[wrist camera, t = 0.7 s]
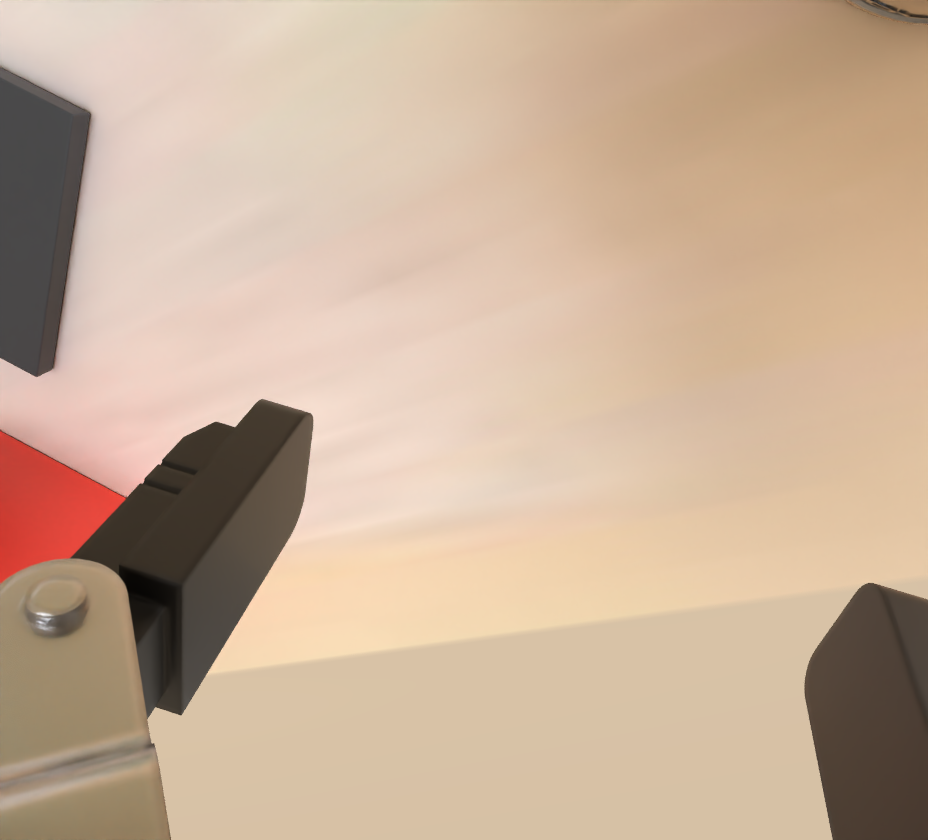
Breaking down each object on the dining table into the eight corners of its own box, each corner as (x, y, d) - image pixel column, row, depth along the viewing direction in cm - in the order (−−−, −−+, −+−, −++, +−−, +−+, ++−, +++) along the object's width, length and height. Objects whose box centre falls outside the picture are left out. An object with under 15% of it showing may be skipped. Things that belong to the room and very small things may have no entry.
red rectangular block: (-12, 423, 38) (-196, 520, 30) (201, 538, 38) (70, 667, 30) (-16, 457, 39) (-195, 560, 31) (192, 569, 39) (63, 702, 31)
